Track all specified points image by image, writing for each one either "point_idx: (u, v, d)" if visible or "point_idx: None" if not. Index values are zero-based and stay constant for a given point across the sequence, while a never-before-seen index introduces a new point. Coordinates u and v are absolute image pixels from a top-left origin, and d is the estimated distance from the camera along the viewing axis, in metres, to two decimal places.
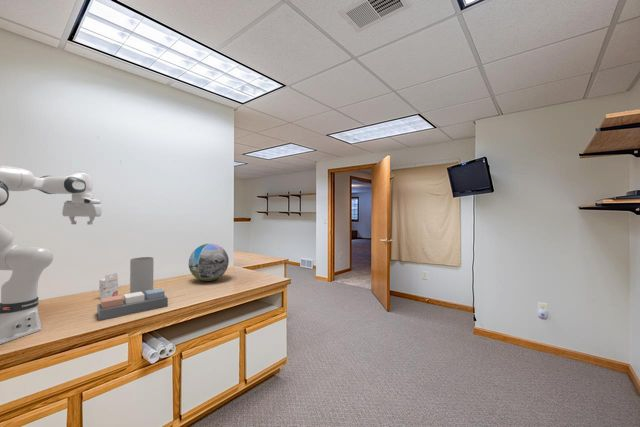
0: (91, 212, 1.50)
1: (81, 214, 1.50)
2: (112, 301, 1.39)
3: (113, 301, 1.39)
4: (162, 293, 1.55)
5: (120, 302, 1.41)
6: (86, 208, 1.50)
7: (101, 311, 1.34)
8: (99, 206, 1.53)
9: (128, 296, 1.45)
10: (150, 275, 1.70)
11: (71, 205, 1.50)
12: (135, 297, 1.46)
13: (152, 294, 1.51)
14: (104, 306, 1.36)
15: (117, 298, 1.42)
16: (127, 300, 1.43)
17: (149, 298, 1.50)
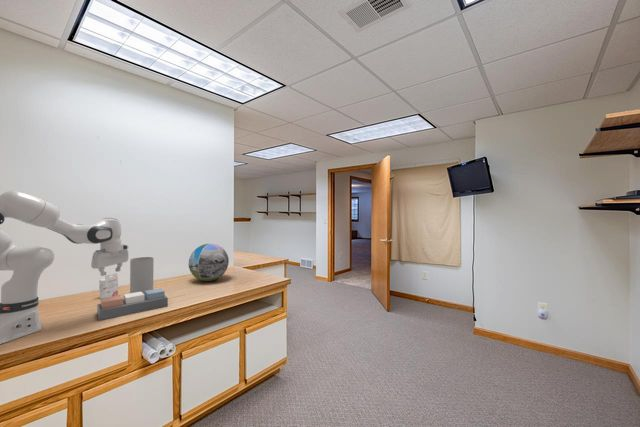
0: (124, 258, 1.49)
1: (115, 261, 1.43)
2: (112, 301, 1.39)
3: (113, 301, 1.39)
4: (162, 293, 1.55)
5: (120, 302, 1.41)
6: (119, 255, 1.46)
7: (101, 311, 1.34)
8: None
9: (128, 296, 1.45)
10: (150, 275, 1.70)
11: (107, 254, 1.37)
12: (135, 297, 1.46)
13: (152, 294, 1.51)
14: (104, 306, 1.36)
15: (117, 298, 1.42)
16: (127, 300, 1.43)
17: (149, 298, 1.50)
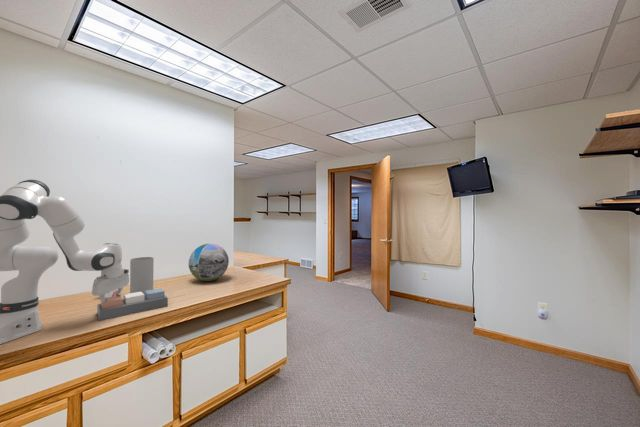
0: (125, 282, 1.49)
1: (116, 287, 1.42)
2: (112, 301, 1.39)
3: (113, 301, 1.39)
4: (162, 293, 1.55)
5: (120, 302, 1.41)
6: (120, 279, 1.45)
7: (101, 311, 1.34)
8: None
9: (128, 296, 1.45)
10: (150, 275, 1.70)
11: (107, 280, 1.37)
12: (135, 297, 1.46)
13: (152, 294, 1.51)
14: (104, 306, 1.36)
15: (117, 298, 1.42)
16: (127, 300, 1.43)
17: (149, 298, 1.50)
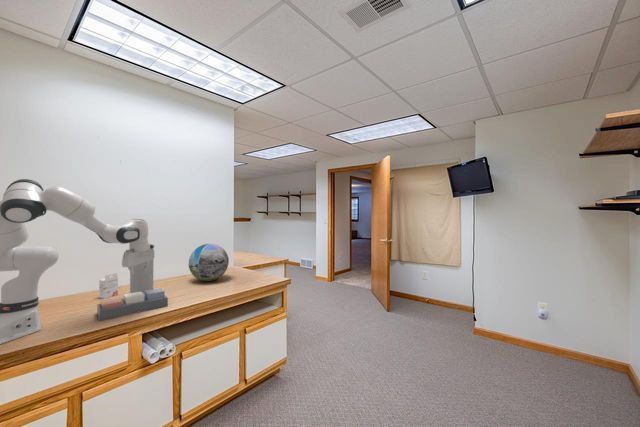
0: (151, 257, 1.56)
1: (143, 260, 1.49)
2: (112, 304, 1.39)
3: (113, 304, 1.39)
4: (162, 293, 1.55)
5: (120, 305, 1.41)
6: (146, 254, 1.52)
7: (101, 311, 1.34)
8: None
9: (128, 296, 1.45)
10: (150, 275, 1.70)
11: (135, 254, 1.44)
12: (135, 297, 1.46)
13: (152, 294, 1.51)
14: (104, 308, 1.36)
15: (117, 301, 1.42)
16: (127, 300, 1.43)
17: (149, 298, 1.50)
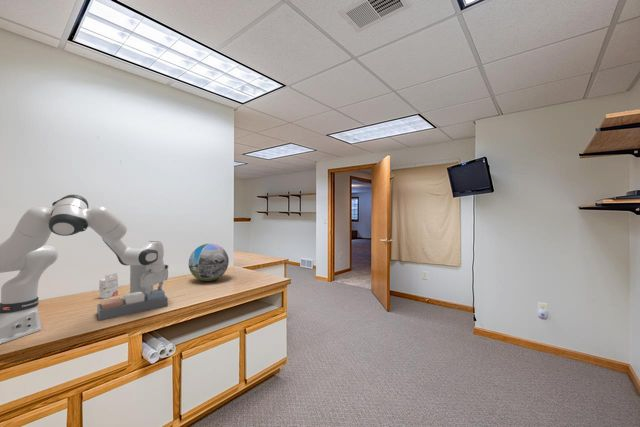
0: (165, 277, 1.63)
1: (159, 280, 1.57)
2: (112, 304, 1.39)
3: (113, 304, 1.39)
4: (162, 293, 1.55)
5: (120, 305, 1.41)
6: (161, 274, 1.59)
7: (101, 311, 1.34)
8: None
9: (128, 296, 1.45)
10: None
11: (152, 274, 1.51)
12: (135, 297, 1.46)
13: (152, 294, 1.51)
14: (104, 308, 1.36)
15: (117, 301, 1.42)
16: (127, 300, 1.43)
17: (149, 298, 1.50)
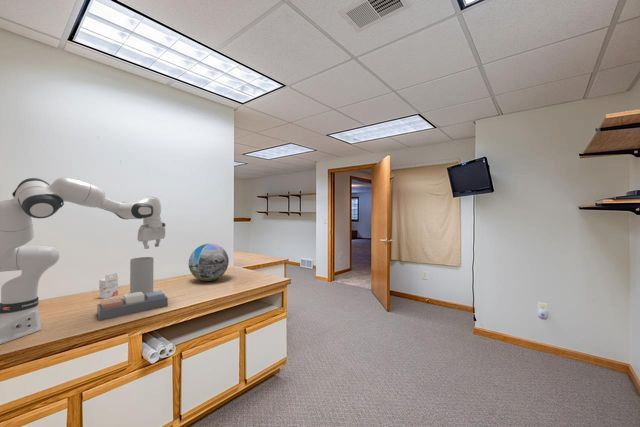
0: (162, 235, 1.63)
1: (156, 237, 1.57)
2: (112, 304, 1.39)
3: (113, 304, 1.39)
4: (162, 295, 1.55)
5: (120, 305, 1.41)
6: (158, 231, 1.60)
7: (101, 311, 1.34)
8: None
9: (128, 296, 1.45)
10: (150, 275, 1.70)
11: (150, 229, 1.51)
12: (135, 297, 1.46)
13: (152, 296, 1.51)
14: (104, 308, 1.36)
15: (117, 301, 1.42)
16: (127, 300, 1.43)
17: None
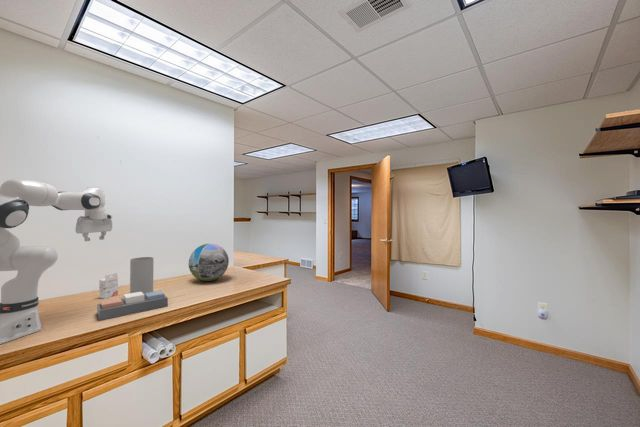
0: (108, 227, 1.57)
1: (99, 229, 1.50)
2: (112, 304, 1.39)
3: (113, 304, 1.39)
4: (162, 295, 1.55)
5: (120, 305, 1.41)
6: (103, 223, 1.53)
7: (101, 311, 1.34)
8: None
9: (128, 296, 1.45)
10: (150, 275, 1.70)
11: (91, 221, 1.45)
12: (135, 297, 1.46)
13: (152, 296, 1.51)
14: (104, 308, 1.36)
15: (117, 301, 1.42)
16: (127, 300, 1.43)
17: None
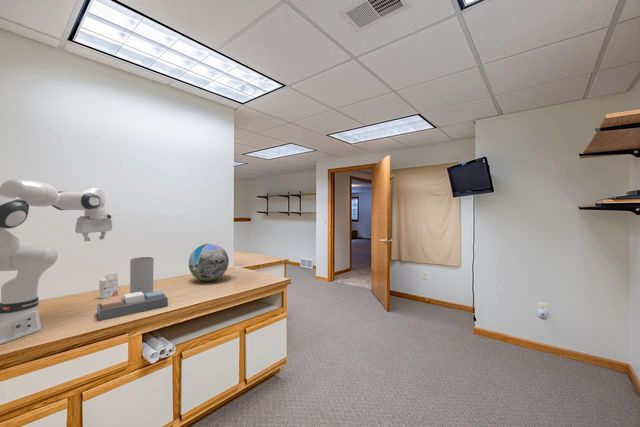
0: (108, 227, 1.56)
1: (99, 229, 1.50)
2: (112, 304, 1.39)
3: (113, 304, 1.39)
4: (162, 295, 1.55)
5: (120, 305, 1.41)
6: (103, 223, 1.53)
7: (101, 311, 1.34)
8: None
9: (128, 296, 1.45)
10: (150, 275, 1.70)
11: (90, 221, 1.45)
12: (135, 297, 1.46)
13: (152, 296, 1.51)
14: (104, 308, 1.36)
15: (117, 301, 1.42)
16: (127, 300, 1.43)
17: None
